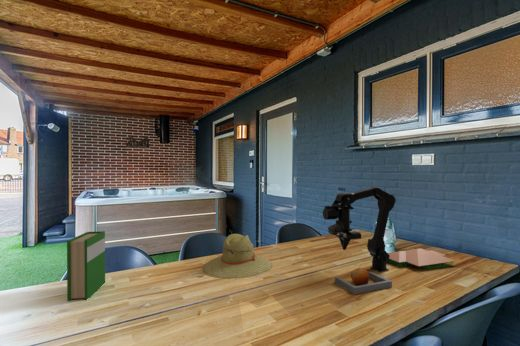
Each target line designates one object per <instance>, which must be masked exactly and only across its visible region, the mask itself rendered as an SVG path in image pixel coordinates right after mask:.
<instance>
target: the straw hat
mask: <svg viewBox="0 0 520 346" xmlns="http://www.w3.org/2000/svg"><path fill="white" fill-rule="evenodd" d="M255 253H256V252H255V250H254V244H253V243H252V242H251V240H250V237H249V235H248V234H246V235H242V234H241V233H231V234H229V235H228V236H227V237H226V238H225V239H224V241H223V246H222V253H221V254H222V255H220V256H217V257H215V258H211V259H210V260H209V261H207V262H205V263H203V265H202V267H201V271H202V274H205V275H206V276H208V277H212V278H216V279H221V280H222V279H223V280H231V279H232V280H233V279H234V280H236V279H247V278H251V277H256V276H260V275H263V274H265V273H268V272H269V271H270V270H271V269H273V266H274V265H273V262H272V261H271V260H269V259H267V258H266V257H262V256H259V255H256V254H255Z"/></svg>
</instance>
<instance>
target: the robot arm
mask: <svg viewBox="0 0 520 346" xmlns="http://www.w3.org/2000/svg"><path fill="white" fill-rule="evenodd" d="M371 197H373V198H375V200H377V208H378V213H377V218H376V223H375V227H374V228H375V229H374V233H373V236H372V237H371V238H368V239H367V244H366V247H367V251H368V253H369V255H370V256H371V257H372V260H371V265H372V266H370V269H371V270H374V271H376V272H379V273H380V272H386V271H390V269H389V268H387V261H389V260H390V259H389V257H390V255H389V254H388V253H389V252H387V251H386V242H385V235H386V230H387V225H388V220H389V216H390V212H391V211H392V210H393V208H394V206H395V205H396V197H395V195H393V194H390V193H388V192H386V191H385V190H383V189H382V188H379V187H378V186H371V187H368V188H366V189H365V188H364V189H362V190H357V191H354V192H341V193H340V192H339V193H337V195H336V196H335V199H334V201H333V202H332V204H331V205H324V208H323V211H322V217H323V219H324V220H325V221H326V220H327V221H329V220H336V221H335V223H334V224H332V225H329V227H327V230H328V233H329V235H332V236H335V237H337V238H338V240H339V242H340V245H341V248H342V250H343V251H345V250H347V249H348V246H349V244H350V242H351V240H360V239H362V233H361V232H359V231H355V230H354V231H353V229H352V228H351V224H352V220H351V217H350V216H351V215H350V214H351V213H350V212H351V210H354V209H355V208H354V207H353V206H352V204H354V203H355V202H356V201H359V200H361V199H362V200H363V199H366V198H371Z"/></svg>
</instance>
